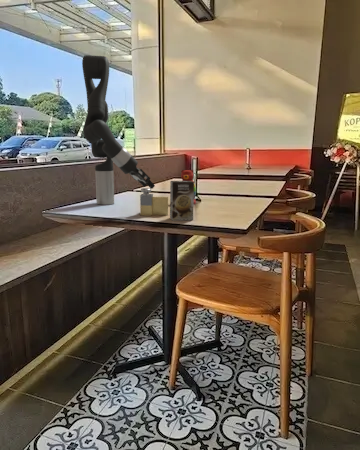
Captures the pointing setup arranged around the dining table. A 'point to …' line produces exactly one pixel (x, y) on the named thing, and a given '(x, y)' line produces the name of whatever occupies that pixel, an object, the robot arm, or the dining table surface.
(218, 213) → the dining table surface
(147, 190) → the pin
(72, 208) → the dining table surface
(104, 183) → the robot arm
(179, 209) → the coffee box
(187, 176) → the stacking bear
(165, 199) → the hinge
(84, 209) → the dining table surface
